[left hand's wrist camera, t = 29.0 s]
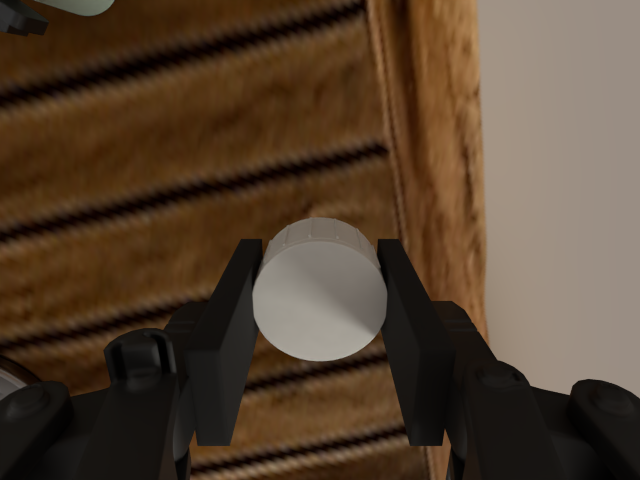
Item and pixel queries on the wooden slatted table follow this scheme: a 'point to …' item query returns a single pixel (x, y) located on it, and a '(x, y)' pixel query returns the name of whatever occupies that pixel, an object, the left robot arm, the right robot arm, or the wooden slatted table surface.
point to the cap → (319, 290)
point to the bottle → (80, 6)
